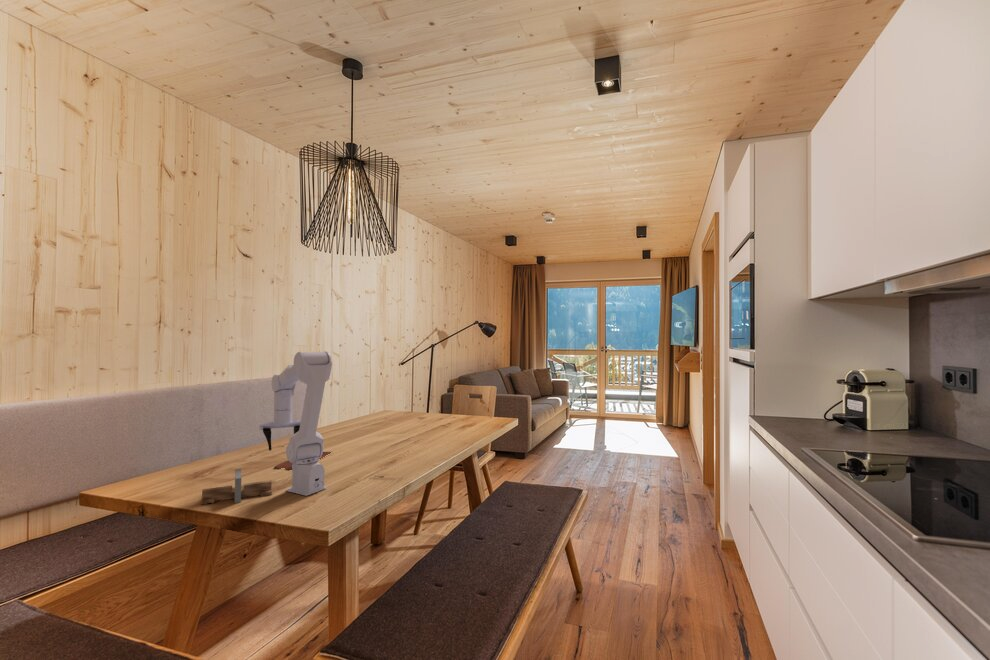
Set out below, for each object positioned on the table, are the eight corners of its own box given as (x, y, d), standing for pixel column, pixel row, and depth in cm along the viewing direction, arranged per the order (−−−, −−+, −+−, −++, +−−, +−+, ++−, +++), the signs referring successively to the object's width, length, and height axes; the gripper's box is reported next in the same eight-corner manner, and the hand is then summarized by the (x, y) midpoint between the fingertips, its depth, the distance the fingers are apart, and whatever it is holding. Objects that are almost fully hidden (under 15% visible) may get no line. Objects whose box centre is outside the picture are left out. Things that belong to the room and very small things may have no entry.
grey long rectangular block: (240, 502, 132) (241, 478, 132) (234, 503, 131) (235, 478, 131) (240, 491, 141) (241, 469, 141) (234, 492, 140) (235, 469, 140)
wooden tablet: (295, 473, 162) (296, 468, 162) (271, 470, 164) (271, 466, 164) (336, 453, 188) (336, 449, 188) (315, 452, 190) (315, 448, 190)
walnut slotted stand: (270, 489, 142) (270, 478, 143) (271, 494, 138) (271, 483, 138) (202, 499, 134) (203, 487, 134) (201, 505, 129) (201, 492, 129)
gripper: (304, 406, 164) (303, 443, 164) (259, 409, 157) (258, 448, 156) (306, 409, 158) (306, 448, 157) (259, 412, 151) (259, 453, 150)
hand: (282, 448), depth 157 cm, fingers open, 7 cm apart
